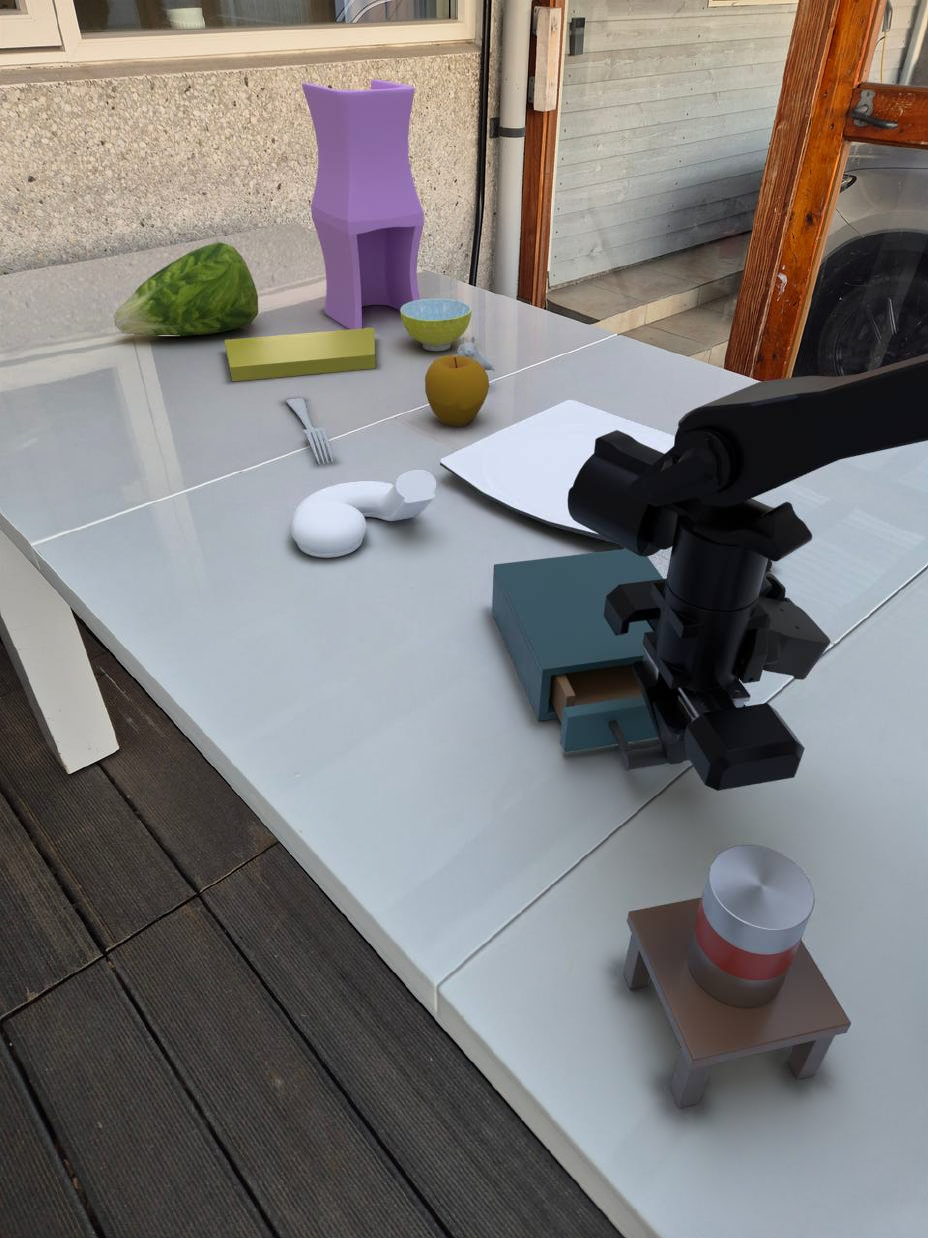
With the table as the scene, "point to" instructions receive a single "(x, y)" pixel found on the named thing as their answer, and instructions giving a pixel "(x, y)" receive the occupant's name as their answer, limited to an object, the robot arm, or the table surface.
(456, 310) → the bowl
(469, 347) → the figurine
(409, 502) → the sculpture
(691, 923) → the stool
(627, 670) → the drawer
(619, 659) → the cabinet
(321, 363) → the flat olive board
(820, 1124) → the table surface
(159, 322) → the lettuce
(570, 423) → the plate
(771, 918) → the can
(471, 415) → the apple
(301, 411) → the fork
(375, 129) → the purple hollow column
